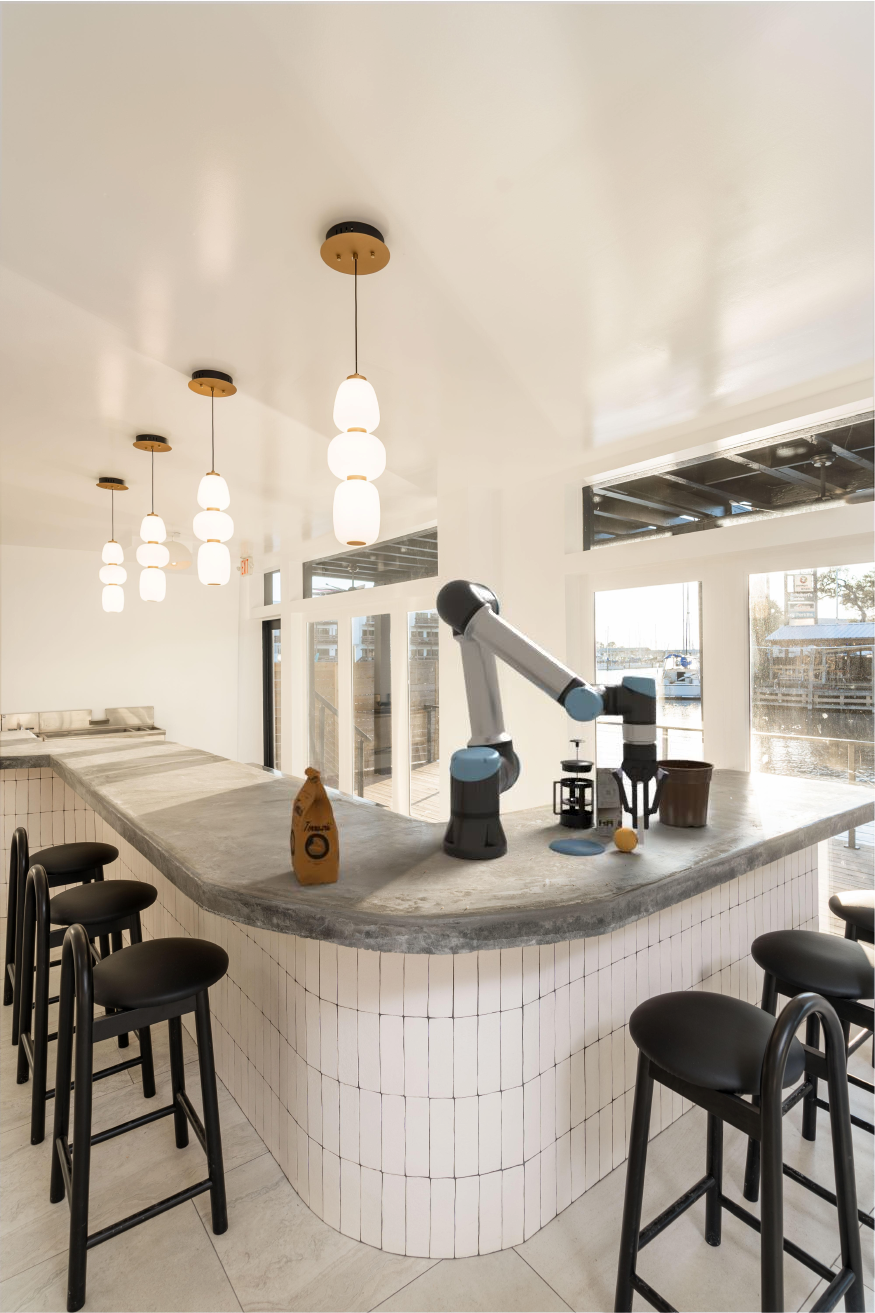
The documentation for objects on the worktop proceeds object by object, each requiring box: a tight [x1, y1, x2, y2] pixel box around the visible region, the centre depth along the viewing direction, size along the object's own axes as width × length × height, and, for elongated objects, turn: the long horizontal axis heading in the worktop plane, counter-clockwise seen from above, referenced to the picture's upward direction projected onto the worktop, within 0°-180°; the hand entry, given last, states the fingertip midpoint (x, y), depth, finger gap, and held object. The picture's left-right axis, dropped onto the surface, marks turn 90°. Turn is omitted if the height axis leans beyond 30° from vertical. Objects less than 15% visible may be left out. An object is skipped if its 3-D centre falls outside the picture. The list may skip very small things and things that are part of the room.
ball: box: [612, 827, 638, 853], centre depth 156 cm, size 6×6×6 cm
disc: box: [549, 838, 606, 857], centre depth 159 cm, size 13×13×1 cm
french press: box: [552, 738, 596, 830], centre depth 180 cm, size 12×9×23 cm
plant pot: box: [653, 759, 715, 828], centre depth 183 cm, size 16×16×16 cm
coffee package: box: [289, 766, 340, 886], centre depth 139 cm, size 10×12×22 cm
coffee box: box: [595, 767, 624, 838], centre depth 173 cm, size 9×6×16 cm
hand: (640, 842), depth 155 cm, fingers closed
